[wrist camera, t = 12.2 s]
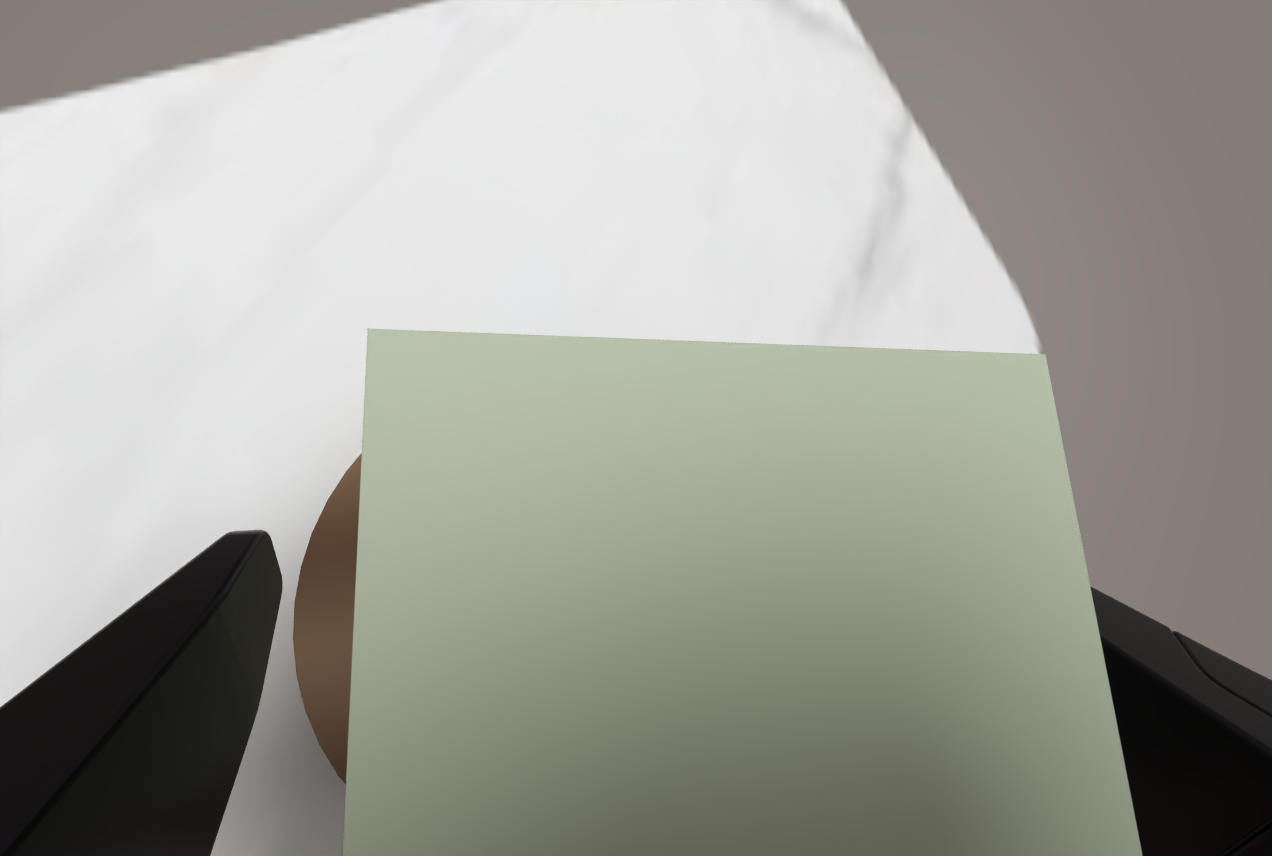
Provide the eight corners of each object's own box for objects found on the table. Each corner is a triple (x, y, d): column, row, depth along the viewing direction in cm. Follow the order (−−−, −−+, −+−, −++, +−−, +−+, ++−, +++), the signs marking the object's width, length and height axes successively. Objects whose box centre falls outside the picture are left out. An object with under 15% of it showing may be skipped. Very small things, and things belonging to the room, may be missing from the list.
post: (655, 685, 16) (1193, 1115, 4) (463, 705, 15) (317, 1425, 3) (646, 500, 17) (1045, 355, 5) (466, 505, 16) (367, 329, 4)
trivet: (743, 851, 17) (766, 878, 16) (252, 834, 15) (226, 865, 13) (773, 419, 20) (794, 408, 19) (372, 344, 18) (361, 325, 16)
